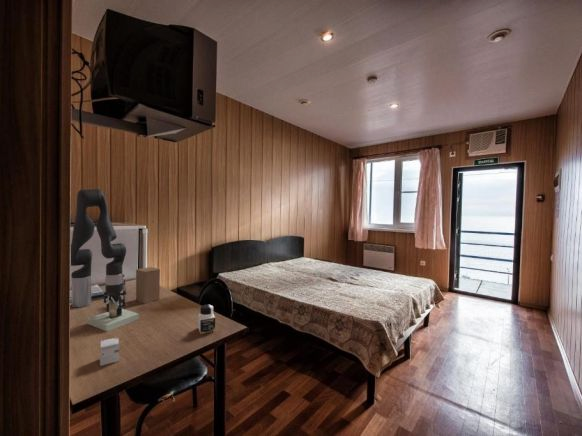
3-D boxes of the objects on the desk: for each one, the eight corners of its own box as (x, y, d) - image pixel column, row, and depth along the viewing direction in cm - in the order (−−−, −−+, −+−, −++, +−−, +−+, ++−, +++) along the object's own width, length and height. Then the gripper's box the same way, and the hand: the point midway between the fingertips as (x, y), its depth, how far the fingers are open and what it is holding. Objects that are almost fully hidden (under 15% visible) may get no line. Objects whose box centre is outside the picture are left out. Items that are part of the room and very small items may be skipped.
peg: (107, 322, 137) (107, 303, 137) (115, 319, 141) (115, 300, 141) (112, 324, 135) (112, 304, 135) (120, 321, 139) (120, 302, 139)
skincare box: (100, 366, 101) (100, 347, 100) (100, 358, 106) (100, 340, 105) (119, 361, 104) (119, 342, 104) (118, 354, 109) (118, 336, 109)
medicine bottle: (200, 334, 128) (200, 309, 128) (197, 327, 134) (198, 304, 134) (215, 331, 131) (215, 307, 131) (212, 325, 138) (212, 302, 137)
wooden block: (159, 299, 172) (160, 268, 171) (144, 304, 164) (144, 271, 163) (151, 296, 177) (151, 266, 176) (135, 300, 169) (135, 269, 168)
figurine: (123, 290, 187) (123, 269, 186) (126, 295, 178) (126, 272, 178) (107, 293, 181) (107, 271, 180) (110, 297, 172) (110, 274, 172)
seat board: (88, 324, 135) (88, 318, 134) (120, 313, 149) (120, 307, 149) (106, 331, 128) (106, 325, 127) (138, 319, 142) (138, 313, 142)
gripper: (98, 282, 137) (98, 313, 138) (115, 286, 131) (114, 318, 132) (113, 278, 144) (113, 308, 145) (130, 282, 138) (129, 313, 138)
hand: (114, 313), depth 138 cm, fingers open, 8 cm apart
